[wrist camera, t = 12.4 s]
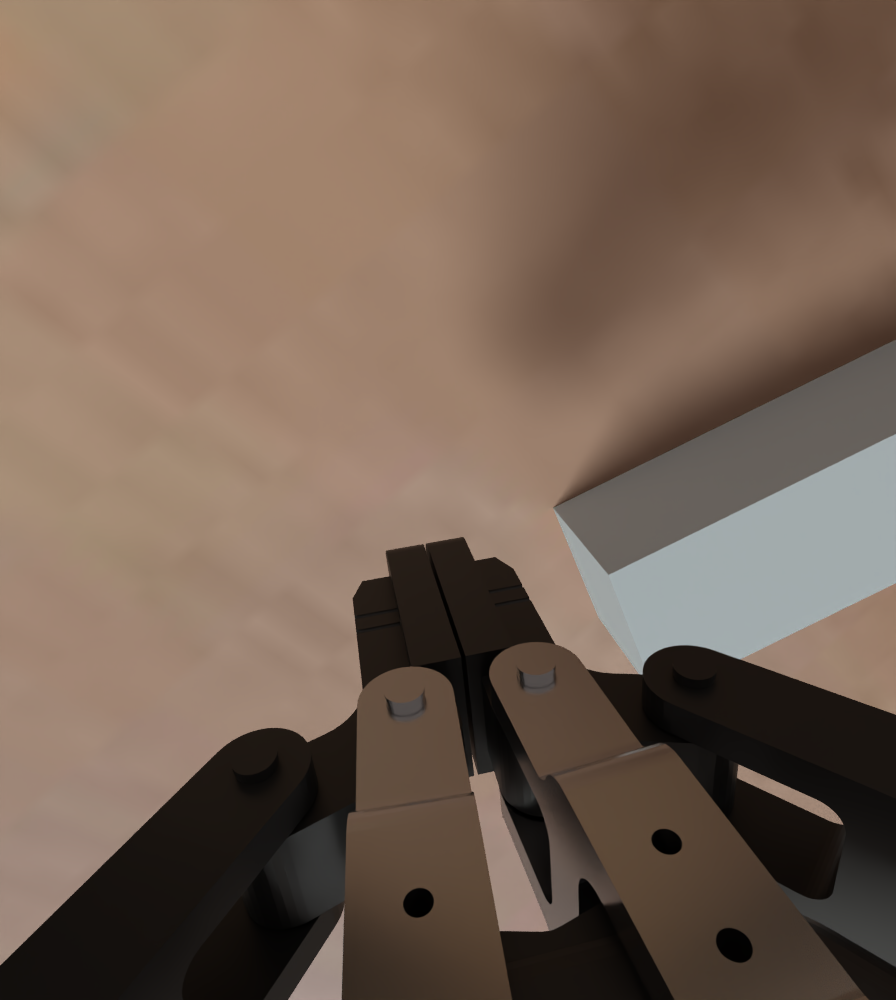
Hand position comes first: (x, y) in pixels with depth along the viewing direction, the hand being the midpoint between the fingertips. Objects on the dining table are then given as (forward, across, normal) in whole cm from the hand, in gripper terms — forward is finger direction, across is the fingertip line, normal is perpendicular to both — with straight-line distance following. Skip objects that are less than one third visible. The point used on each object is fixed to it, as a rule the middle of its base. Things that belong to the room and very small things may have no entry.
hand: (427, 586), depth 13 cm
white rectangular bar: (+5, -12, +1) cm, 13 cm away
